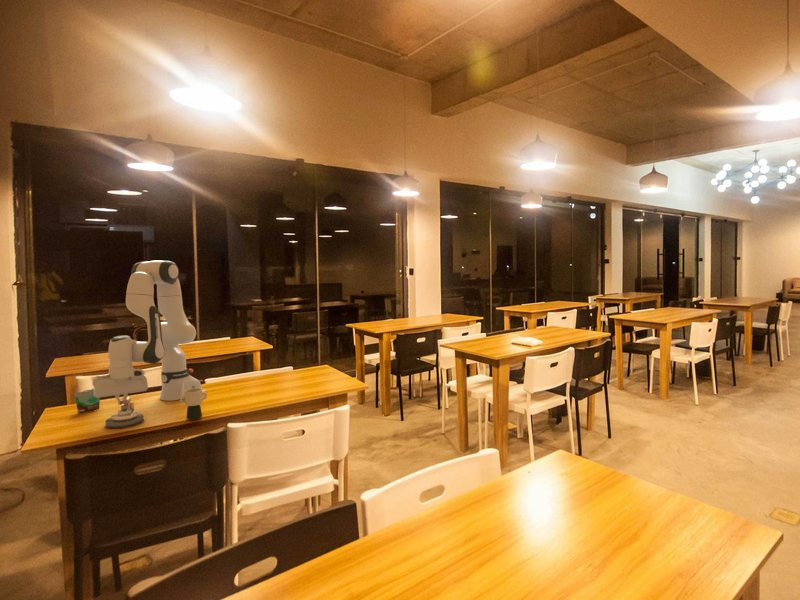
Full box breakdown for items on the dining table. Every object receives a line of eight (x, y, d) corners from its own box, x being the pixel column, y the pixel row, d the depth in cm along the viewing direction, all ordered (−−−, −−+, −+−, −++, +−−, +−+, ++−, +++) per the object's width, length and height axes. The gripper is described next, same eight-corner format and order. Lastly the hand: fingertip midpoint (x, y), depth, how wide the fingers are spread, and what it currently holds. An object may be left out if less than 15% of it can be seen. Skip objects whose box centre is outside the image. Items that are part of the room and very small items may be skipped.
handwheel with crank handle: (130, 416, 199) (129, 399, 198) (151, 420, 193) (150, 403, 192) (98, 425, 186) (97, 408, 185) (119, 430, 180) (118, 412, 179)
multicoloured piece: (135, 419, 186) (134, 404, 186) (108, 422, 183) (108, 406, 182) (141, 410, 199) (140, 395, 199) (116, 412, 196) (116, 398, 195)
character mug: (205, 414, 200) (204, 386, 199) (209, 418, 194) (208, 389, 194) (178, 419, 193) (177, 390, 192) (182, 423, 188) (181, 393, 187)
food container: (86, 414, 201) (84, 393, 200) (74, 414, 202) (73, 392, 201) (109, 406, 213) (107, 386, 212) (98, 406, 214) (97, 385, 213)
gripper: (93, 377, 184) (94, 410, 185) (148, 371, 198) (149, 401, 198) (91, 375, 189) (92, 407, 189) (145, 369, 203) (145, 398, 203)
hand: (121, 404), depth 194 cm, fingers closed
